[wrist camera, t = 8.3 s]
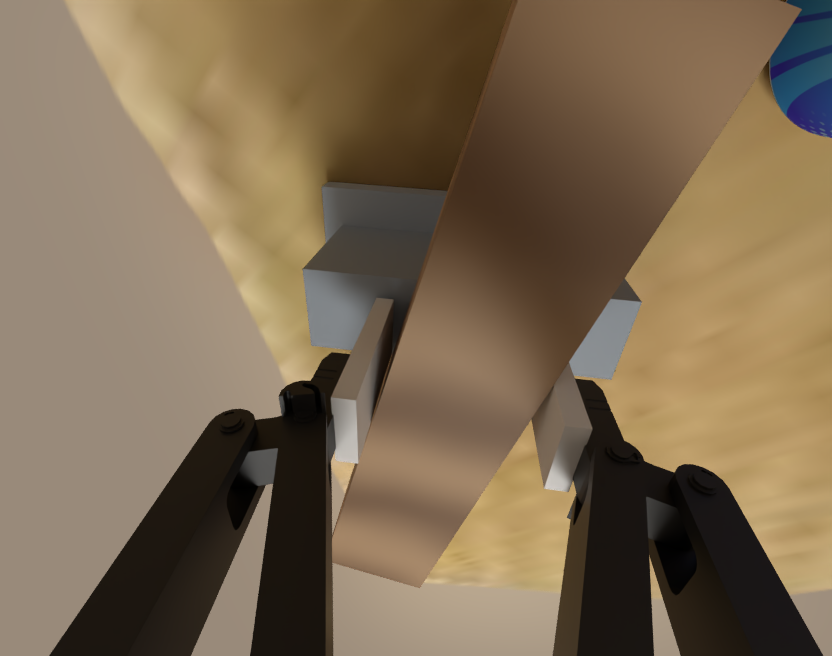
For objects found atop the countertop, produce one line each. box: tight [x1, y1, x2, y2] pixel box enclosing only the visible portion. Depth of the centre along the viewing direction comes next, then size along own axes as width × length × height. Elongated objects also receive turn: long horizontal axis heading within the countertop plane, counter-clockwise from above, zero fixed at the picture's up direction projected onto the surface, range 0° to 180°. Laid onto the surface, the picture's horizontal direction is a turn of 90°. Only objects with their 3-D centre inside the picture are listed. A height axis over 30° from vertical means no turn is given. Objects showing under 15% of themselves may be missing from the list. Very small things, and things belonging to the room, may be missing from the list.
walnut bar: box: [332, 0, 802, 588], centre depth 16 cm, size 24×5×5 cm, turn 163°
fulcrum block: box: [303, 182, 642, 380], centre depth 21 cm, size 8×16×7 cm, turn 87°
